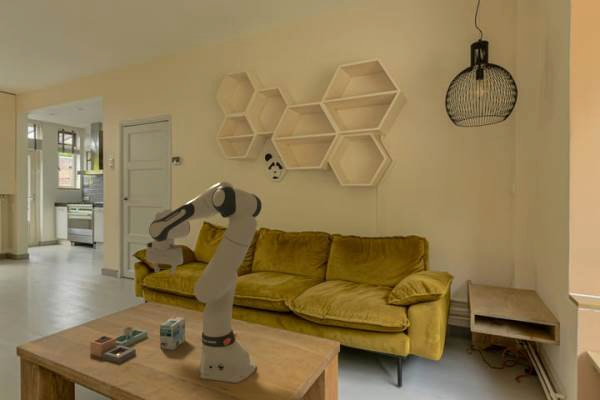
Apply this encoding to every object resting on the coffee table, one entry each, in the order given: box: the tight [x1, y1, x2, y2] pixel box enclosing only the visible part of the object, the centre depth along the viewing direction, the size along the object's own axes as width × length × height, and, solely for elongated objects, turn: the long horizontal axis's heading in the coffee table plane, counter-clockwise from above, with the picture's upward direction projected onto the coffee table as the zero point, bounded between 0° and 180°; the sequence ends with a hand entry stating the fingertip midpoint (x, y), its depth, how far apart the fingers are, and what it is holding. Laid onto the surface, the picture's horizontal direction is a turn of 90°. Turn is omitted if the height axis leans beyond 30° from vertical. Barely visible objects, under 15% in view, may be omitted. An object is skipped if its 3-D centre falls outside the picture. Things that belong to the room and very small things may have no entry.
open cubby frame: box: [89, 335, 116, 358], centre depth 143 cm, size 7×7×6 cm
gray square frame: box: [101, 345, 137, 364], centre depth 139 cm, size 10×8×3 cm
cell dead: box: [99, 335, 108, 343], centre depth 143 cm, size 3×3×6 cm
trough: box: [114, 328, 148, 347], centre depth 154 cm, size 8×14×3 cm, turn 157°
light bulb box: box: [159, 316, 186, 351], centre depth 152 cm, size 11×7×11 cm, turn 168°
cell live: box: [123, 325, 133, 341], centre depth 154 cm, size 3×3×6 cm
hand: (164, 272), depth 159 cm, fingers open, 8 cm apart
